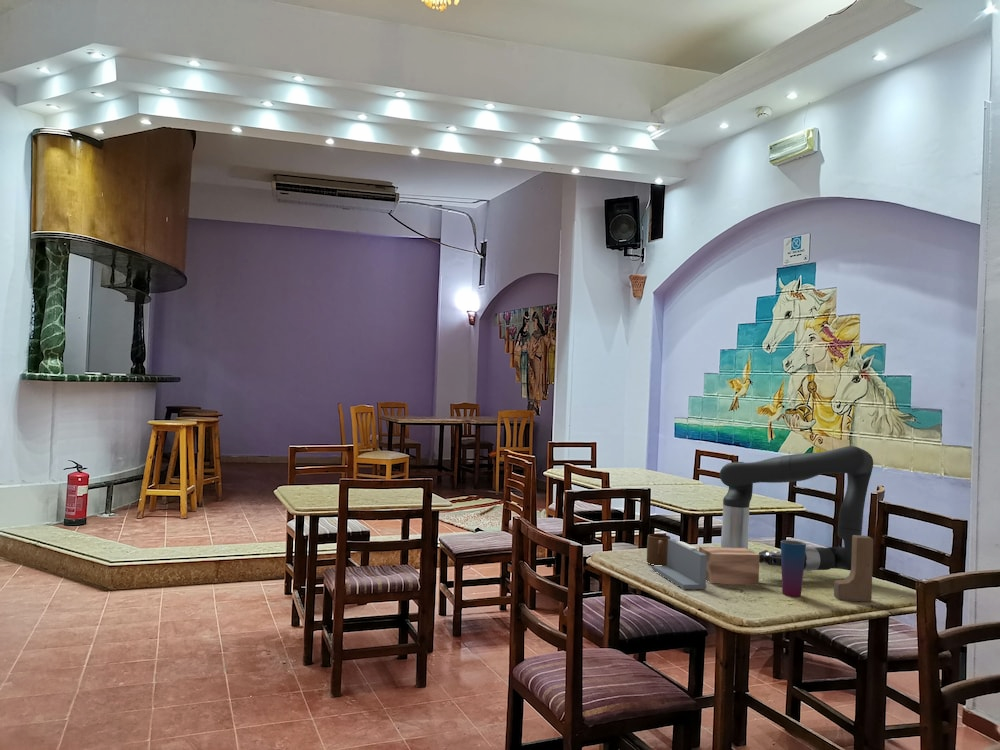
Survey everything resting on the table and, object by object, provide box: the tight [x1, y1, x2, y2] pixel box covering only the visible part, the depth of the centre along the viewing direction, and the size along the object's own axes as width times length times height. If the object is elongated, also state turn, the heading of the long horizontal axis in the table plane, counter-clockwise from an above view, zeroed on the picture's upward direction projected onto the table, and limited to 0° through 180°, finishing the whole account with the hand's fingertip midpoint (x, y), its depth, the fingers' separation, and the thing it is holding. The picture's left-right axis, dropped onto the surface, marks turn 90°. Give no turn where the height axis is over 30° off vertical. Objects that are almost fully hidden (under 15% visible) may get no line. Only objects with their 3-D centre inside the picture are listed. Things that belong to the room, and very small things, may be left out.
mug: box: [646, 533, 671, 566], centre depth 239 cm, size 12×8×9 cm, turn 173°
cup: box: [780, 539, 807, 598], centre depth 210 cm, size 7×7×15 cm
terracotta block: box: [698, 546, 760, 585], centre depth 224 cm, size 10×15×9 cm, turn 97°
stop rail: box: [651, 538, 707, 590], centre depth 221 cm, size 23×7×11 cm, turn 11°
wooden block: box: [833, 534, 874, 603], centre depth 208 cm, size 9×4×18 cm, turn 82°
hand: (750, 558), depth 226 cm, fingers closed
